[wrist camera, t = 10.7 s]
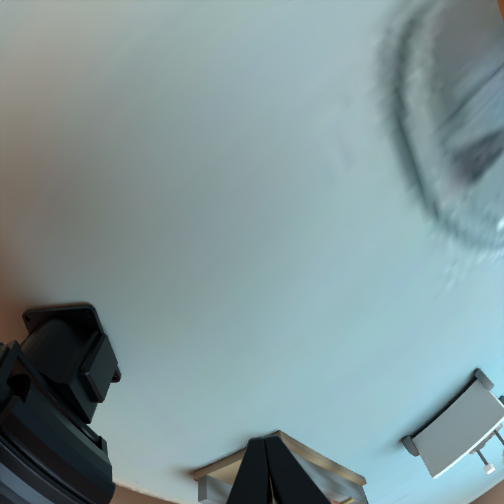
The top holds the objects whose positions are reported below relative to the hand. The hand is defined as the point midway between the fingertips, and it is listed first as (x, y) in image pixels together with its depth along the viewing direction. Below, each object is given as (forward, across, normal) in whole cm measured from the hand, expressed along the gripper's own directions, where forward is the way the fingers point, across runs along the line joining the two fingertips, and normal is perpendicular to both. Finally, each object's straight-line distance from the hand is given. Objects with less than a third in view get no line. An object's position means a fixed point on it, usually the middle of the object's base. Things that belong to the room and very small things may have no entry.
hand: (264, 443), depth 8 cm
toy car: (+13, -25, +25) cm, 38 cm away
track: (+12, -2, +26) cm, 29 cm away
